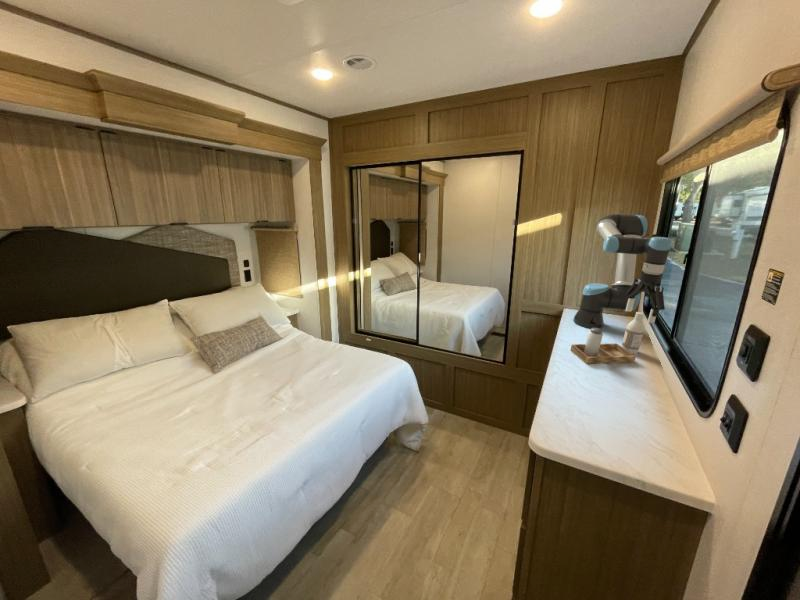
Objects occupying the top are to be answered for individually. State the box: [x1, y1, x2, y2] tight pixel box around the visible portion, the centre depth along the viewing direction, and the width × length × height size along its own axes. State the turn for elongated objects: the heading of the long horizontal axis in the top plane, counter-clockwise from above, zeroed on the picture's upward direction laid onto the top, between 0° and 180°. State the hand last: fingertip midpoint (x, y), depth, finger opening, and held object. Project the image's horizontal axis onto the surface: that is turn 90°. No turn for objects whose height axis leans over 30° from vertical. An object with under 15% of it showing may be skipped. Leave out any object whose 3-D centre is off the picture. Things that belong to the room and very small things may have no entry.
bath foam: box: [620, 311, 645, 355], centre depth 155 cm, size 7×7×20 cm
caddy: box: [570, 342, 637, 365], centre depth 152 cm, size 23×13×3 cm, turn 94°
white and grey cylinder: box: [584, 328, 604, 357], centre depth 150 cm, size 6×6×13 cm
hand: (639, 316), depth 152 cm, fingers open, 13 cm apart
